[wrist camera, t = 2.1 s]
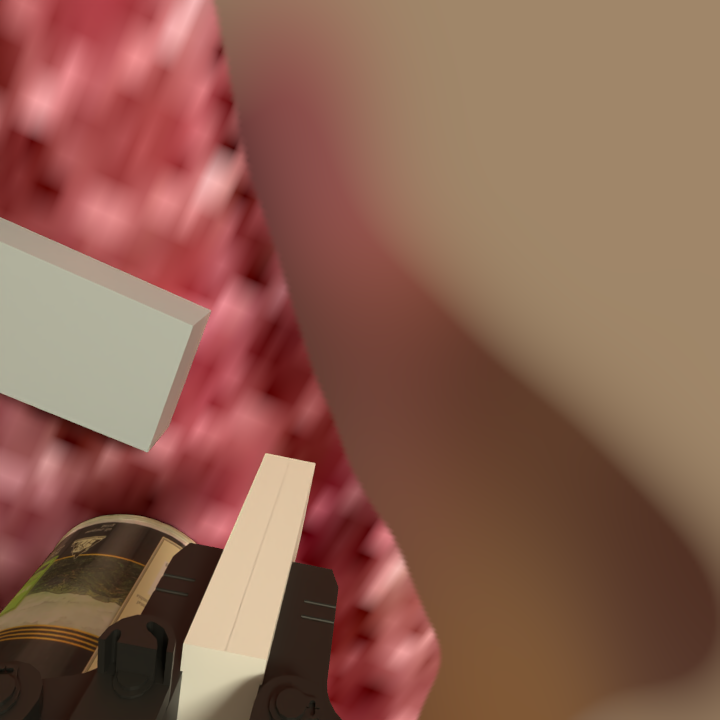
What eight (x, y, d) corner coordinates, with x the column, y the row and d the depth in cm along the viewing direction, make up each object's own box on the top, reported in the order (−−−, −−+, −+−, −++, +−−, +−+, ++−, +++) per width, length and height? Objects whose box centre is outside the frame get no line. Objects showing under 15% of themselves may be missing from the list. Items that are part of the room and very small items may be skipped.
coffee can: (26, 599, 32) (-227, 904, 19) (94, 481, 29) (-151, 748, 15) (174, 673, 34) (41, 1001, 20) (254, 569, 30) (158, 877, 17)
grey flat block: (-92, 314, 26) (-149, 332, 23) (-72, 182, 24) (-132, 183, 21) (171, 423, 28) (147, 452, 25) (213, 308, 25) (193, 325, 23)
